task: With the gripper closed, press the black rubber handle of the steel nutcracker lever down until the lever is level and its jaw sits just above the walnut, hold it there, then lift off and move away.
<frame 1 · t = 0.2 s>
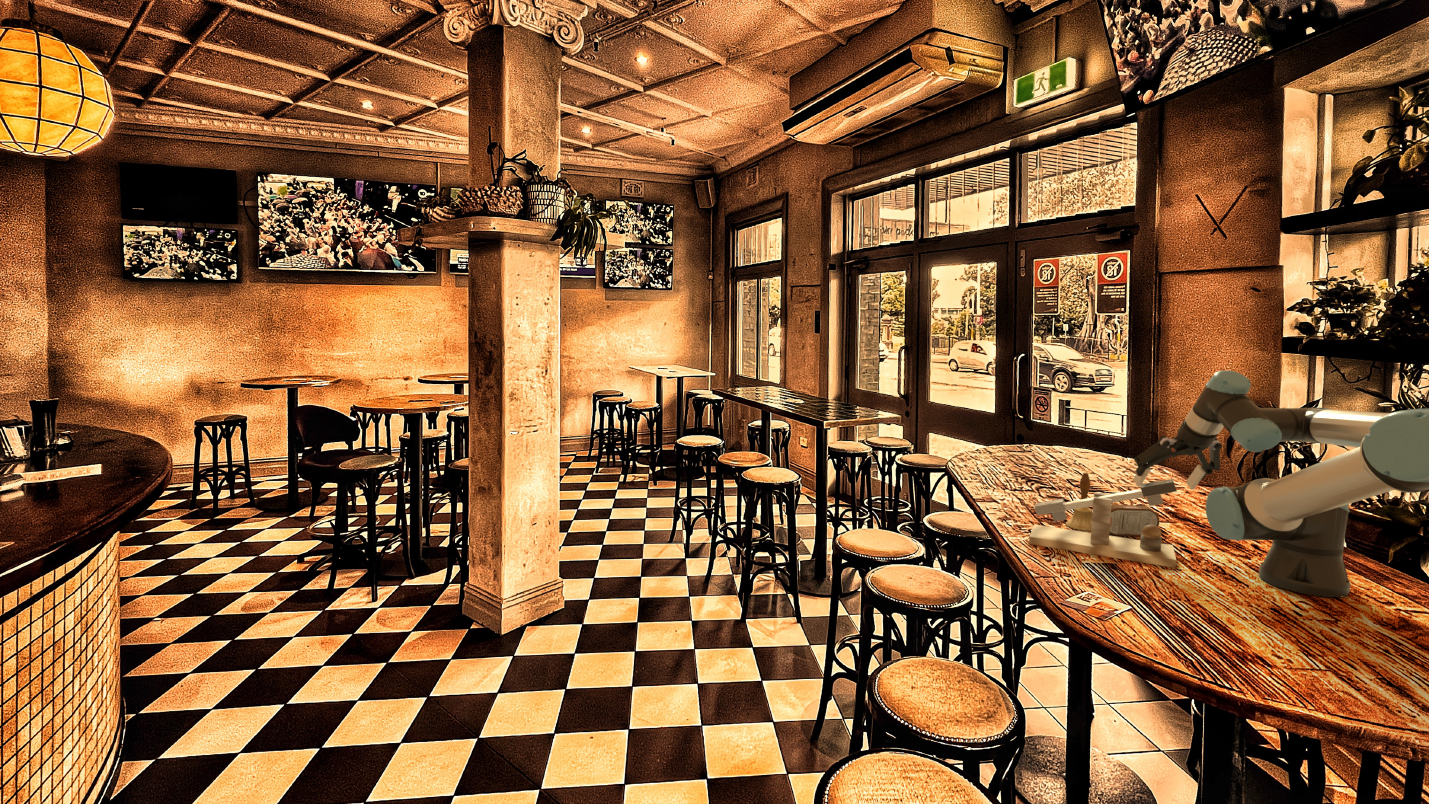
hand: (1163, 484, 171), 16 cm above the table, tool tilted 35°, fingers open, 13 cm apart
tin: (1128, 535, 178), on the table
hand bell: (1081, 527, 185), on the table
lever: (1103, 502, 166), point 12 cm above the table, hinge at 20.0°
press base: (1099, 548, 167), on the table
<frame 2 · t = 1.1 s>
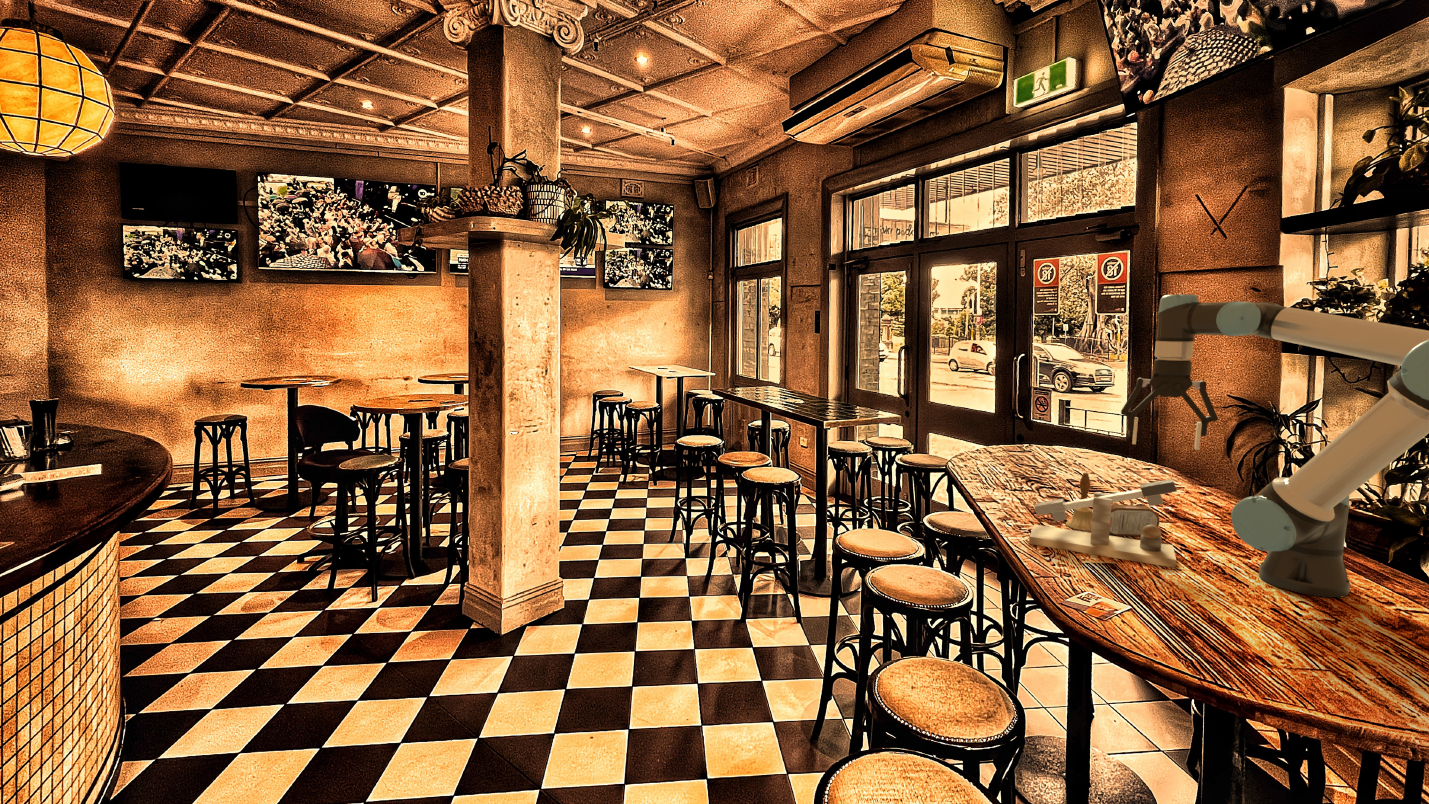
hand: (1164, 446, 157), 28 cm above the table, tool pointing down, fingers open, 12 cm apart
nothing on the table moved.
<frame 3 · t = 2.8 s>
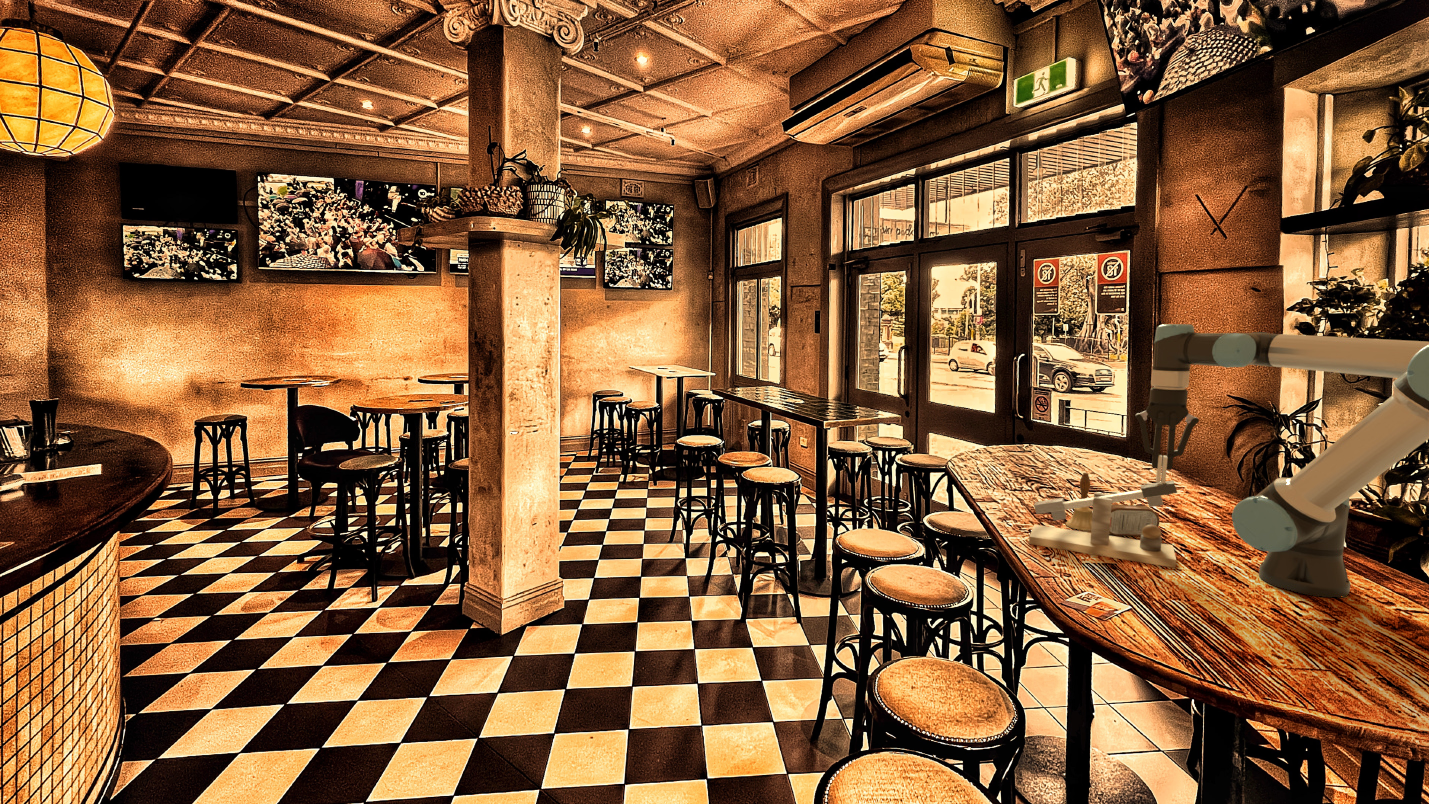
hand: (1160, 481, 159), 19 cm above the table, tool pointing down, fingers closed
lever: (1103, 502, 166), point 12 cm above the table, hinge at 18.6°, touching gripper
everything else where it was.
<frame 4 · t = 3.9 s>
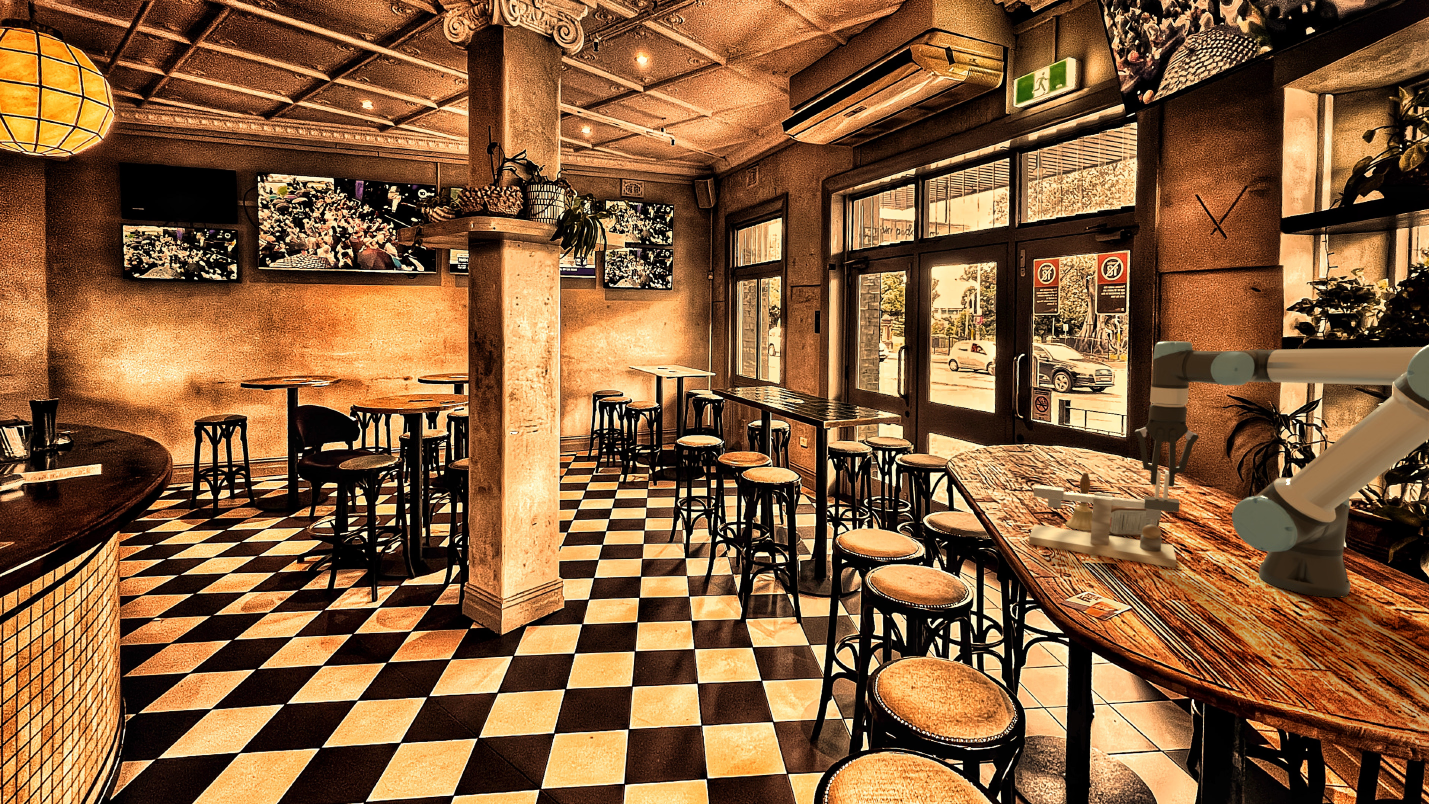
hand: (1160, 498, 159), 15 cm above the table, tool pointing down, fingers closed on lever
lever: (1102, 502, 166), point 12 cm above the table, hinge at 1.2°, touching gripper
everything else where it was.
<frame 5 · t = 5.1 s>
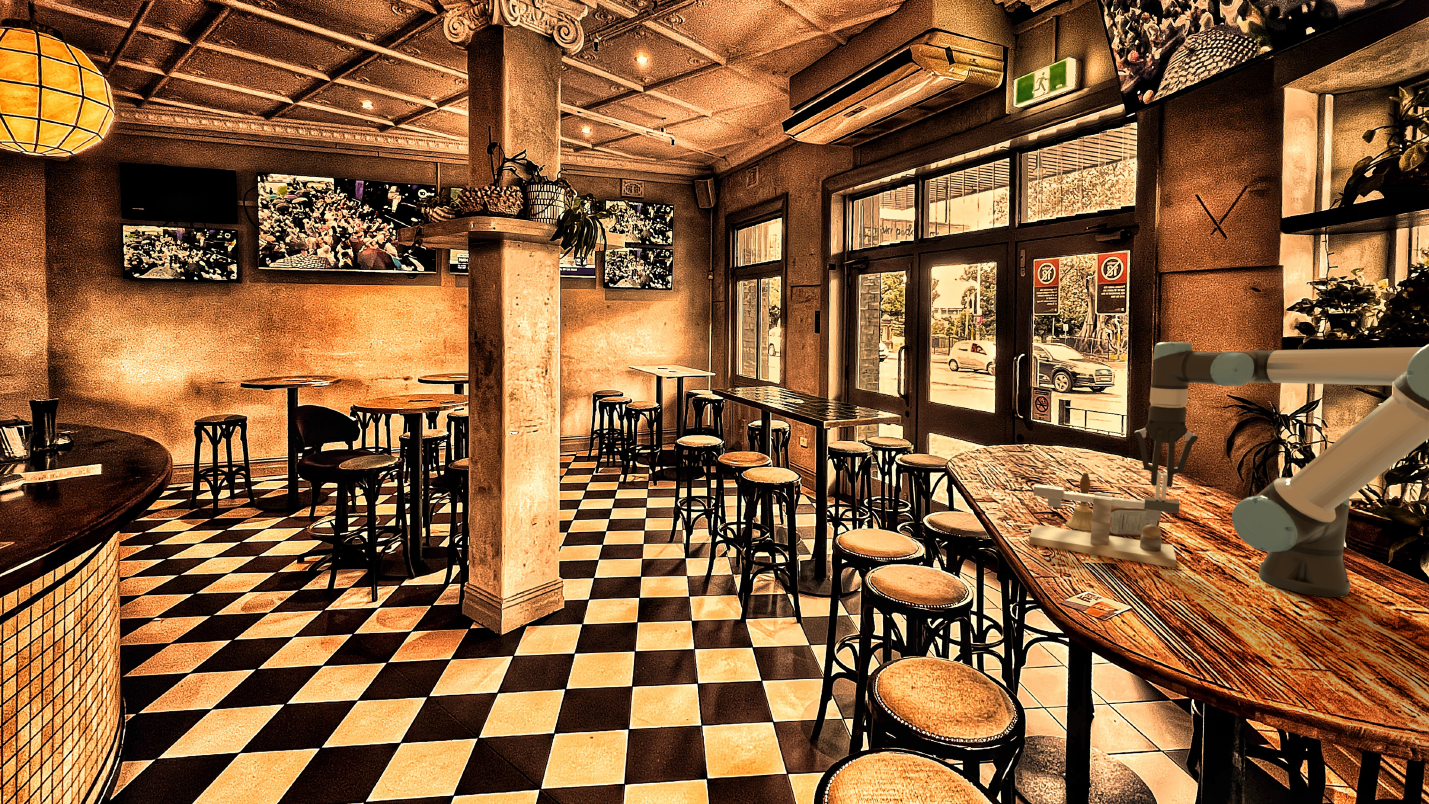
hand: (1160, 498, 159), 15 cm above the table, tool pointing down, fingers closed
lever: (1102, 502, 166), point 12 cm above the table, hinge at 0.2°
everything else where it was.
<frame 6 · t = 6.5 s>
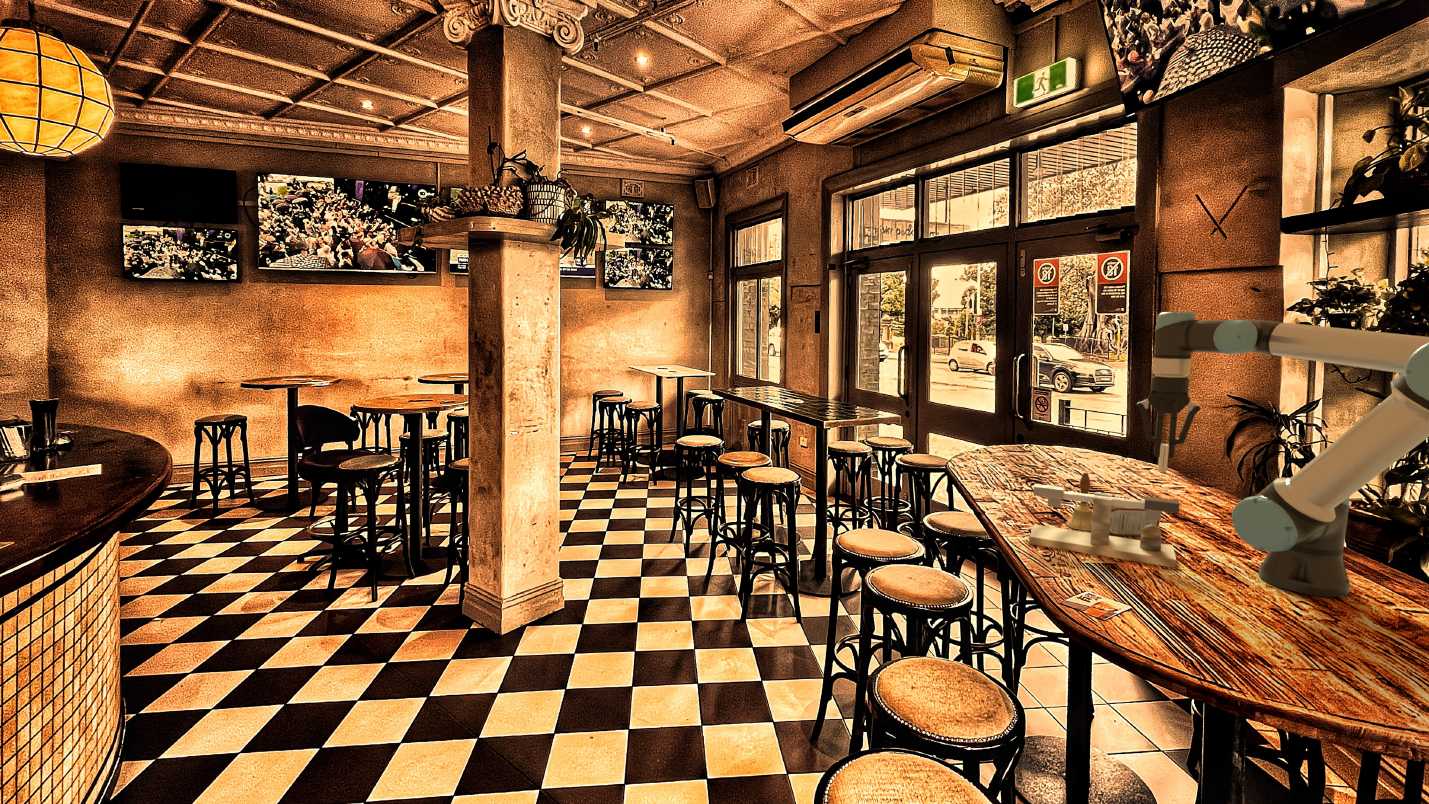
hand: (1162, 470, 158), 22 cm above the table, tool pointing down, fingers closed
nothing on the table moved.
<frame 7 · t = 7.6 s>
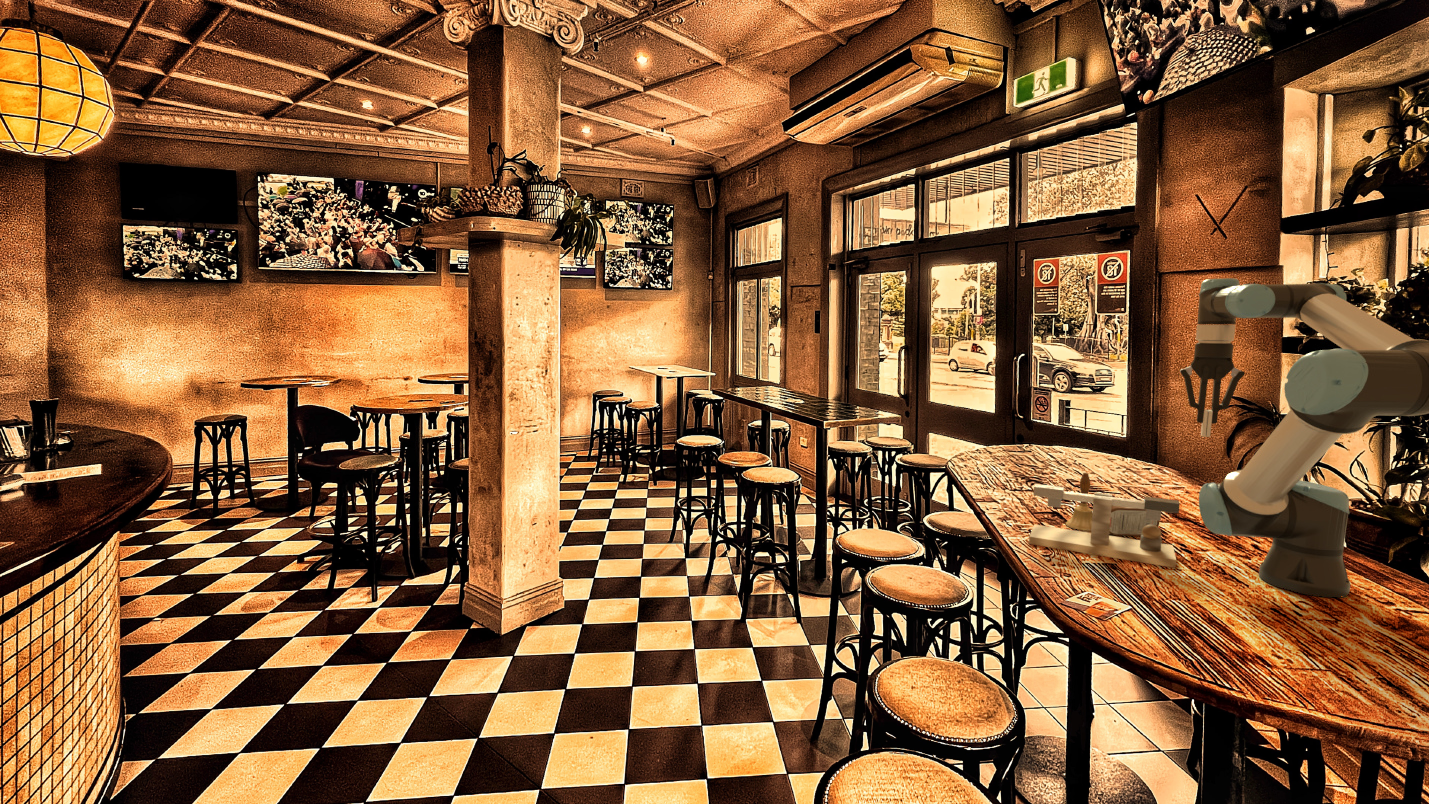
hand: (1205, 435, 161), 30 cm above the table, tool pointing down, fingers closed
nothing on the table moved.
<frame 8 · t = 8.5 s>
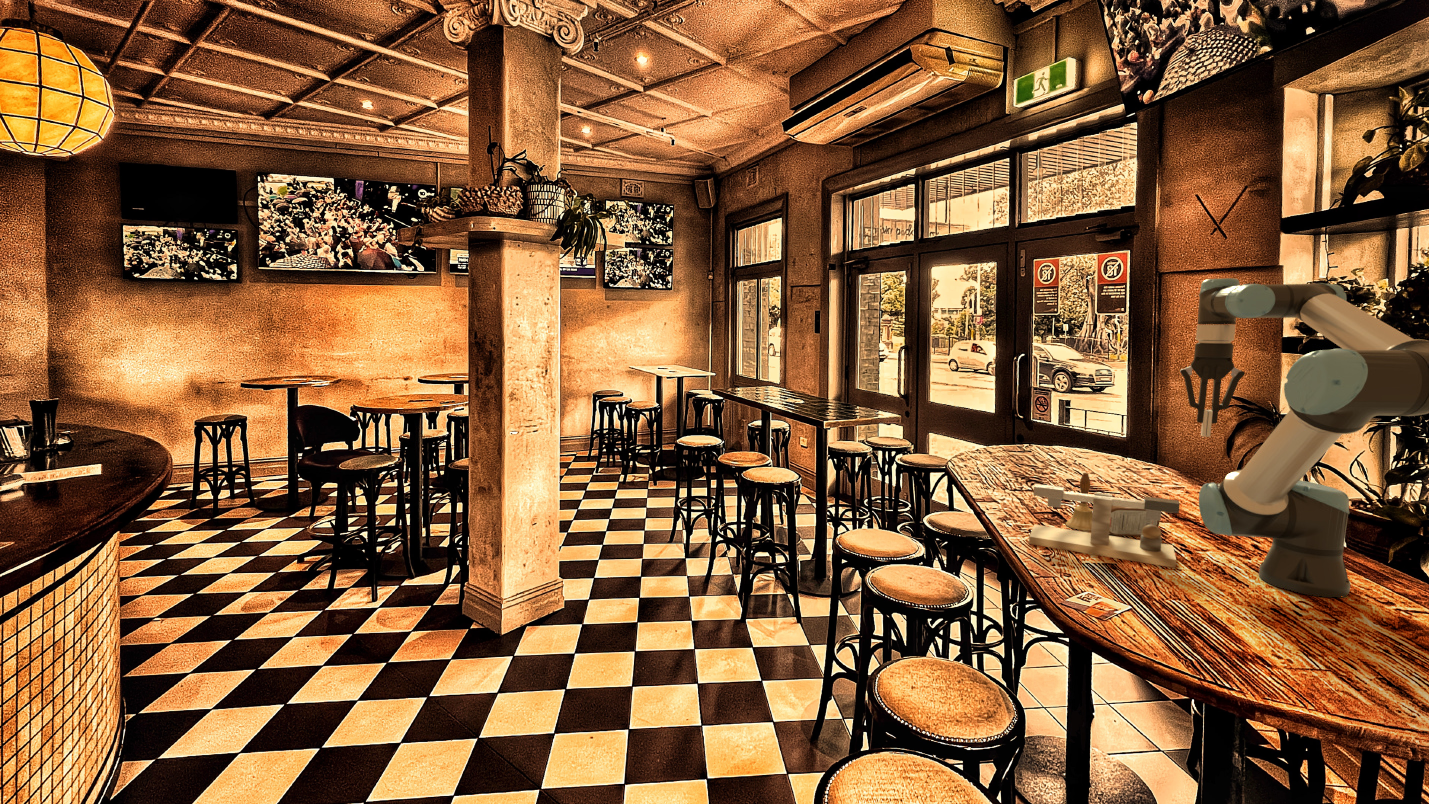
hand: (1205, 435, 161), 30 cm above the table, tool pointing down, fingers closed
nothing on the table moved.
at the end: lever at +0° (first picture: +20°); the gripper is holding nothing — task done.
